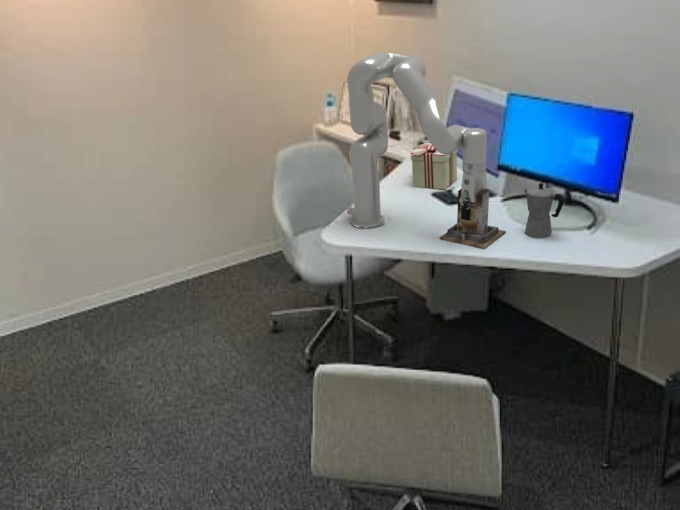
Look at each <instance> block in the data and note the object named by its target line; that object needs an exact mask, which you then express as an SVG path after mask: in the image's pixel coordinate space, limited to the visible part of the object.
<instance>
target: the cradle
mask: <svg viewBox="0 0 680 510" xmlns="http://www.w3.org/2000/svg"><path fill="white" fill-rule="evenodd" d="M506 233H507V231H506V230H502V229H499V227H497V226H492V225H488V230H487V234H486V235H484V236H479V235H474V234H470V233H465V232H460V231H457V223H456V224H454V225H453V226H450V228H447V230H446V232H445V233H443V234H442V235H440V236H439V238H438V239H440V240H441V241H444V240H445V242H448V241H449V243H454V244H457V243H458V245H462V244H463V246H467V247H473V248H475V249H476V248H477V249H481V250H484V249H485V250H486V249H488V248H489V247H490V246H491V245H492V244H494V243H495V242H496V241H498V240H499V239H500V238H502V237H503V236H504V235H505V234H506ZM488 246H489V247H488Z"/></svg>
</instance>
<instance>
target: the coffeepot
mask: <svg viewBox="0 0 680 510" xmlns="http://www.w3.org/2000/svg"><path fill="white" fill-rule="evenodd" d="M544 186H545V184H544V183H543V182H542V183H541V182H539V183H538V187H526V188H523V191H524V193H525V195H526V201H527V202H526V203H527V211H528V216H527V221H526V225H525V228H524V232H523V233H524V235H526V236H527V237H530V238H533V239H546V238H549V237H551V235H552V232H553V230H552V229H553V228H552V222H551V221H552V220H551V217H552V218H558V217H559V216H560V213H561V210H562V208H563V206H564V203H565V198H564V197H563V196H562V195H561V194H560V193H555V192H556V191H555V190H552V189H551V188H549V187H544ZM554 200H557V201H558V203H557V207H556V209H555V213H554V214H553V213H551V215H550V212H551V211H552V210H551V209H552V205H553V201H554Z"/></svg>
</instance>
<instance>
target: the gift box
mask: <svg viewBox="0 0 680 510" xmlns="http://www.w3.org/2000/svg"><path fill="white" fill-rule="evenodd" d="M412 149H413V151H411V152H410V160H411V163H412V164H411V166H412V167H411V168H412V169H411V171H412V187H414V188H422V189H423V188H424V189H434V190H435V189H436V190H437V189H438V190H447V188H449V187H450V186H451V185H452V184H453V183H454V182H455V181H457V180H458V171H457V170H458V169H457V168H458V166H457V165H458V164H457V163H458V162H457V161H458V160H457V157H458V156H457V153H458V149H457V150H456V151H455V152H453V153H452V154H449V155H445V154H441V153H440V152H438V151H437V150H436V149H435V148H434V147H433V145H432V144H431V143H430V142H429V143H428V142H424V143H421V144H418V145H417V146H415V147H412Z"/></svg>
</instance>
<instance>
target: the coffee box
mask: <svg viewBox="0 0 680 510" xmlns="http://www.w3.org/2000/svg"><path fill="white" fill-rule="evenodd" d="M461 189H462V187H461V188H460V189H459V190H458V191H457V217H456V219H457V220H456V222H457V223H456V224H457V231H460V232H465V233H470V234H474V235H479V236H484V235H486V234H487V230H488V224H489V208H490V207H489V203H490V189H489V188H487V189H484V190H482V191H480V192H479V193H478V194H477V202H475V203H471V206H470V209H471V216H470V220H469V221H468V220H463V219H461V206H460V202H459V199H460V197H461ZM466 199H467V200H469V198H466ZM465 203H466V204H467V205H468V202H465Z"/></svg>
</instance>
